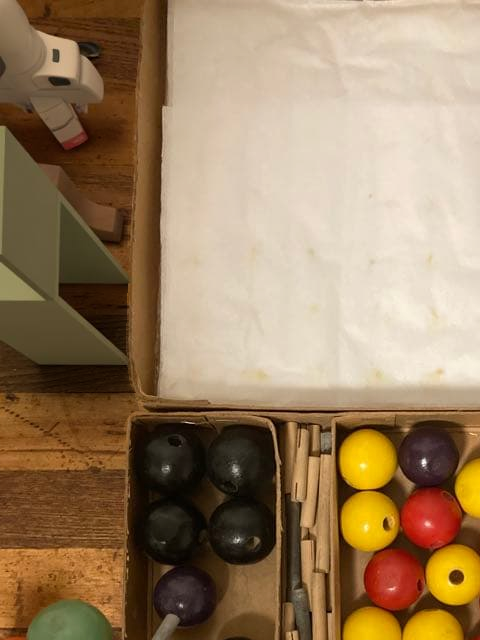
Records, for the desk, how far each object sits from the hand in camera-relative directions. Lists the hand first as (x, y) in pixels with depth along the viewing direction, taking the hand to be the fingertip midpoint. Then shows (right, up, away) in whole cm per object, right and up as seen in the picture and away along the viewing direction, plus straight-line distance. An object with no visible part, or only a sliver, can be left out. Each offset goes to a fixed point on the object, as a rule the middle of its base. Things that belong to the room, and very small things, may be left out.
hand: (57, 109), depth 147 cm
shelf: (+4, -36, +3) cm, 37 cm away
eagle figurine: (+2, +11, +6) cm, 12 cm away
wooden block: (+6, -19, +4) cm, 21 cm away
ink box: (0, 0, +5) cm, 5 cm away
